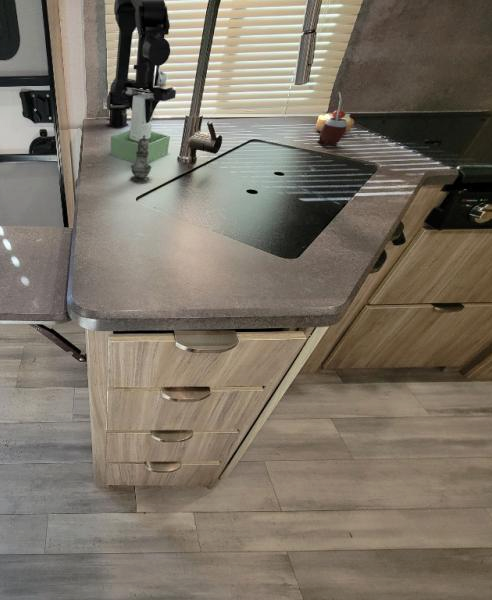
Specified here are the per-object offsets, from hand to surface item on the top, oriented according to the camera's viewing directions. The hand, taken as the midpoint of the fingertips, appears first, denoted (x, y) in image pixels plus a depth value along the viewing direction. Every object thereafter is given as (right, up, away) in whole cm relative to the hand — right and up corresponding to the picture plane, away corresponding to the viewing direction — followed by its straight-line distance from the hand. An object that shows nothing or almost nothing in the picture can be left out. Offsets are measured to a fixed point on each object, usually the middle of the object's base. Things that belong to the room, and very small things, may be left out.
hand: (141, 121), depth 103 cm
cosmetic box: (0, -4, +4) cm, 5 cm away
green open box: (0, -7, +7) cm, 10 cm away
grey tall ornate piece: (-2, -22, -8) cm, 23 cm away
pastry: (+77, +9, +24) cm, 81 cm away
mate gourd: (+68, -1, +14) cm, 69 cm away
